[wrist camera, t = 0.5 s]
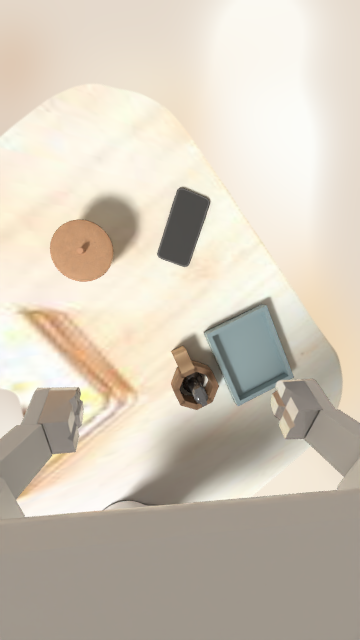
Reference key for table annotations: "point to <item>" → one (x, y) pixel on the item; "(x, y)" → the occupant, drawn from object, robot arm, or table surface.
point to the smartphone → (183, 227)
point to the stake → (196, 387)
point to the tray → (249, 354)
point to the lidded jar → (81, 250)
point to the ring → (186, 369)
